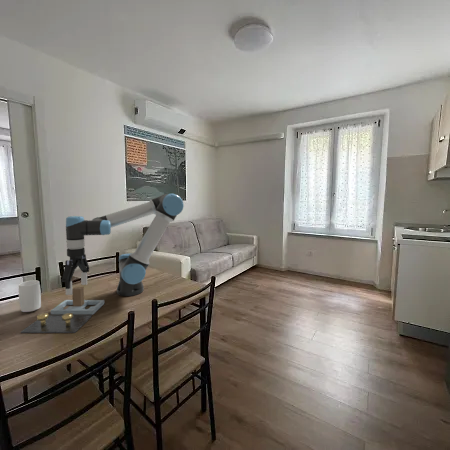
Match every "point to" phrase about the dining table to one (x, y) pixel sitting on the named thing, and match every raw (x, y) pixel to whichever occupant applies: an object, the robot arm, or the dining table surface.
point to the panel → (77, 308)
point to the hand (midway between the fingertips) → (77, 289)
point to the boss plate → (57, 323)
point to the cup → (29, 295)
